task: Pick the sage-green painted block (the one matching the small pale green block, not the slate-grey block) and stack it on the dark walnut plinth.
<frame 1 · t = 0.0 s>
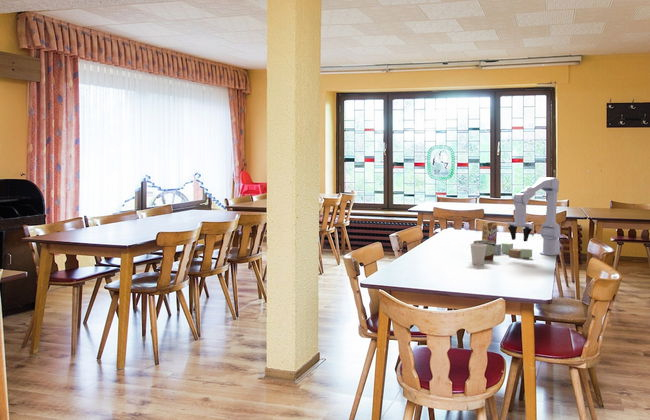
hand: (519, 240, 342), 10 cm above the table, fingers open, 7 cm apart
slate block: (495, 253, 361), on the table
sage block: (507, 253, 364), on the table
candy box: (489, 247, 386), on the table
dixie cup: (477, 263, 328), on the table
pale green block: (526, 258, 345), on the table
walnut plinth: (516, 256, 351), on the table
food container: (485, 260, 340), on the table
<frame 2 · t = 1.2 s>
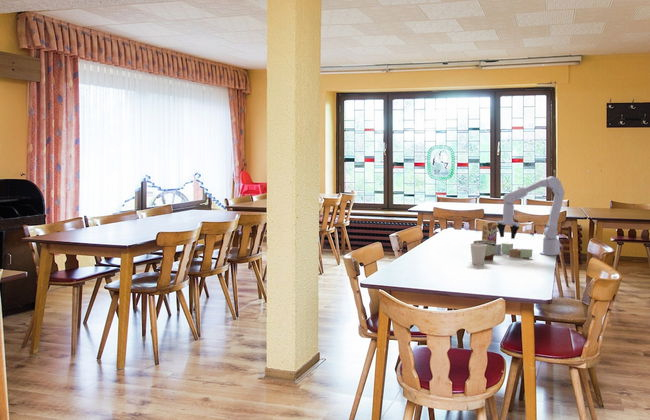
hand: (507, 237, 363), 9 cm above the table, fingers open, 7 cm apart
nothing on the table moved.
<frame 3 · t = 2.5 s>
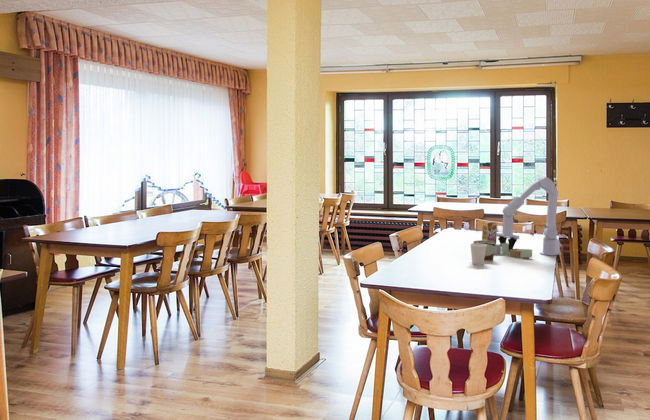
hand: (507, 250, 364), 1 cm above the table, fingers closed on sage block, 4 cm apart
sage block: (506, 252, 364), on the table, touching gripper
everything else where it was.
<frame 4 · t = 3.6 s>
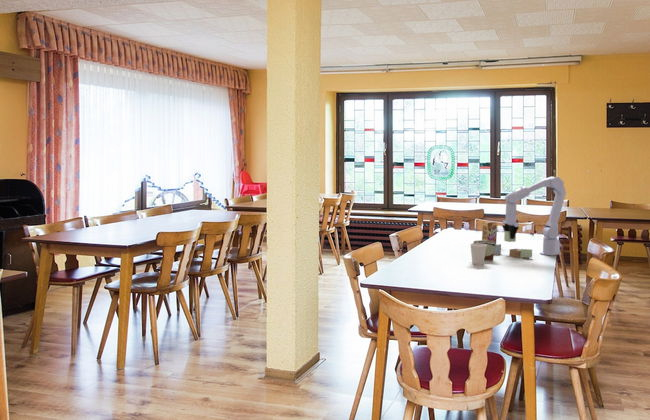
hand: (510, 238, 360), 9 cm above the table, fingers closed on sage block, 4 cm apart
sage block: (509, 241, 360), point 7 cm above the table, touching gripper
everything else where it was.
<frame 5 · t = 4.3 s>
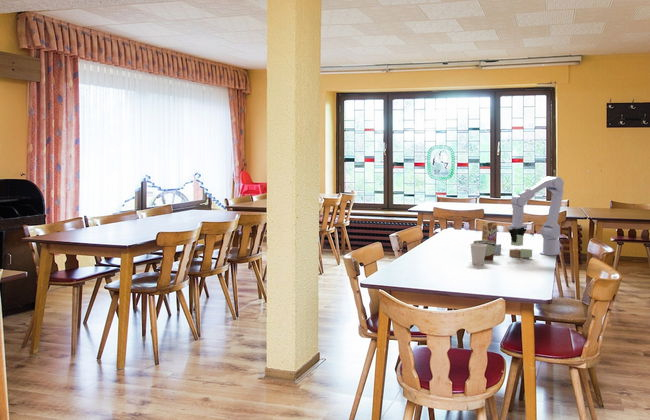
hand: (516, 241, 351), 8 cm above the table, fingers closed on sage block, 4 cm apart
sage block: (516, 245, 351), point 6 cm above the table, touching gripper
everything else where it was.
when the fingers open (7 cm above the table, at t = 5.0 s): sage block drops 1 cm, resting on walnut plinth.
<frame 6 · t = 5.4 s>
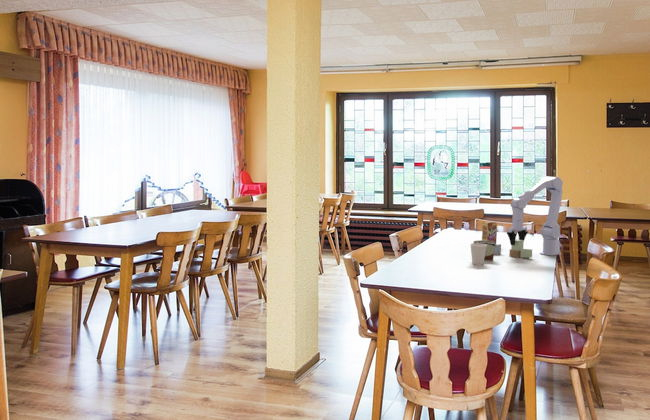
hand: (516, 244, 351), 7 cm above the table, fingers open, 7 cm apart
sage block: (517, 249, 351), point 4 cm above the table, touching walnut plinth
walnut plinth: (517, 256, 351), on the table, touching sage block
everything else where it was.
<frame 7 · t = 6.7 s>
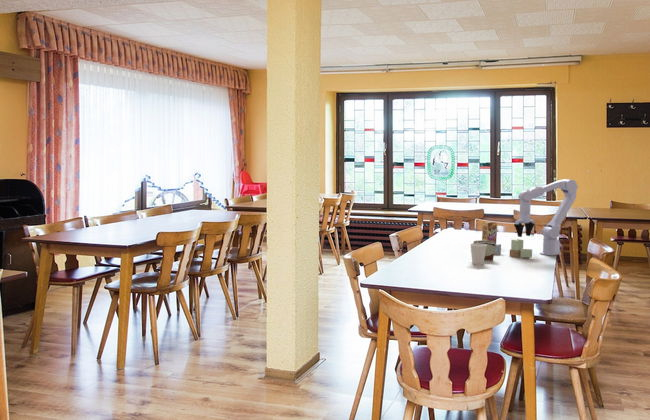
hand: (523, 236, 357), 10 cm above the table, fingers open, 7 cm apart
nothing on the table moved.
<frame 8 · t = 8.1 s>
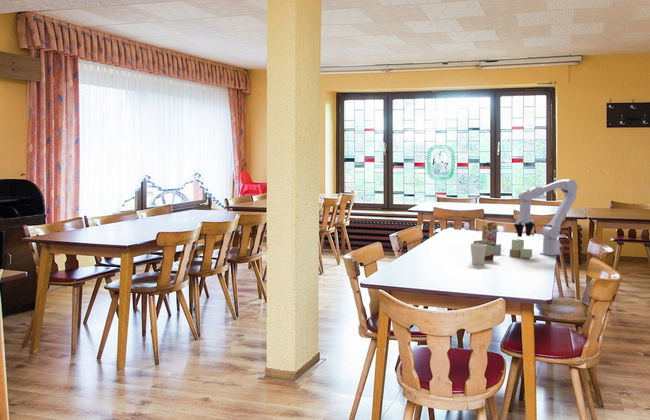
hand: (523, 236, 357), 10 cm above the table, fingers open, 7 cm apart
nothing on the table moved.
at the end: sage block 0.2 cm off-centre on the walnut plinth, point 4.0 cm above the walnut plinth's base; sage block tilted 0°; the gripper is holding nothing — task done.
